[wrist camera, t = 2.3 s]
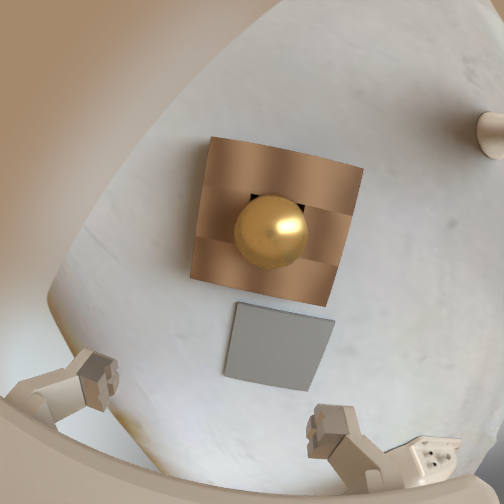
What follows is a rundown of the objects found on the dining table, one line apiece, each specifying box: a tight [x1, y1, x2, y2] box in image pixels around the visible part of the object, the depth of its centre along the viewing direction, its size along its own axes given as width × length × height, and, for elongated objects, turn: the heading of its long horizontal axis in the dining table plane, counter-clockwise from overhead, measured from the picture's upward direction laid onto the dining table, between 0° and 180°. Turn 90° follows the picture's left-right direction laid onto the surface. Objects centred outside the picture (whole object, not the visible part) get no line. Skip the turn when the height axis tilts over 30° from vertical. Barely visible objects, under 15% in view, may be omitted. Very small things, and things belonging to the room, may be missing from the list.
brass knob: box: [234, 193, 308, 269], centre depth 28 cm, size 6×6×8 cm
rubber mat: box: [224, 302, 335, 391], centre depth 37 cm, size 12×12×1 cm
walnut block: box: [190, 137, 364, 307], centre depth 30 cm, size 14×14×5 cm
